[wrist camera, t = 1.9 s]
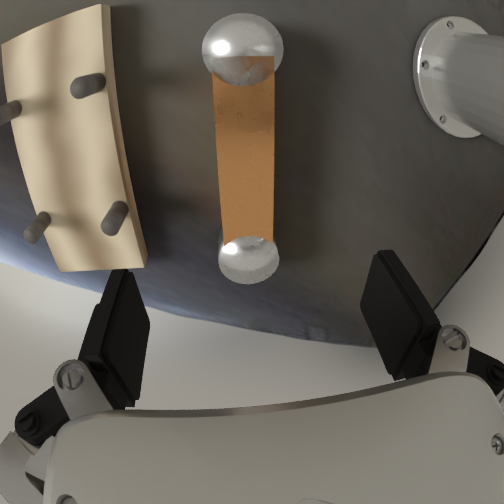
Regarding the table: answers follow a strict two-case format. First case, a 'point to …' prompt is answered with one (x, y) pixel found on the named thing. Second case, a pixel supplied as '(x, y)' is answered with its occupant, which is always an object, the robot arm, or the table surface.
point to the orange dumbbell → (245, 141)
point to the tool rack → (73, 142)
